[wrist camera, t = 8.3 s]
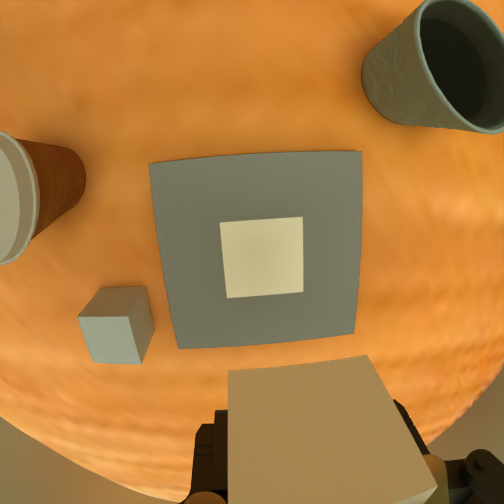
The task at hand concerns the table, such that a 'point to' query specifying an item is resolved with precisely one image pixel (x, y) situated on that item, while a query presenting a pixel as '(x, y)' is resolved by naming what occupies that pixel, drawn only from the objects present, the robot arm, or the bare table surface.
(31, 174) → the disposable coffee cup
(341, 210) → the board
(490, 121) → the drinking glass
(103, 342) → the blue grey block
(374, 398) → the cream block
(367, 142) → the table surface
